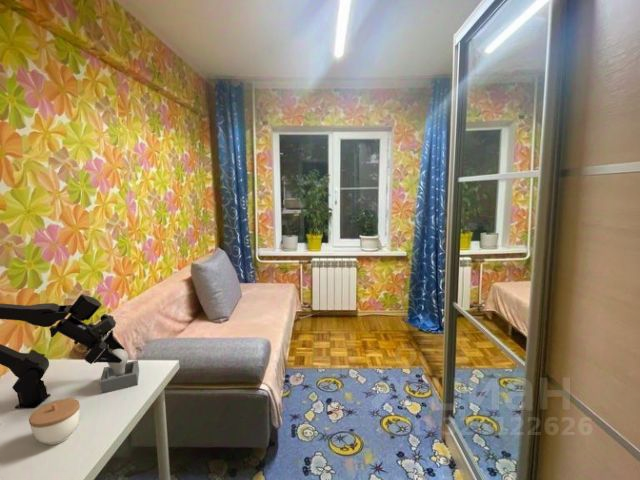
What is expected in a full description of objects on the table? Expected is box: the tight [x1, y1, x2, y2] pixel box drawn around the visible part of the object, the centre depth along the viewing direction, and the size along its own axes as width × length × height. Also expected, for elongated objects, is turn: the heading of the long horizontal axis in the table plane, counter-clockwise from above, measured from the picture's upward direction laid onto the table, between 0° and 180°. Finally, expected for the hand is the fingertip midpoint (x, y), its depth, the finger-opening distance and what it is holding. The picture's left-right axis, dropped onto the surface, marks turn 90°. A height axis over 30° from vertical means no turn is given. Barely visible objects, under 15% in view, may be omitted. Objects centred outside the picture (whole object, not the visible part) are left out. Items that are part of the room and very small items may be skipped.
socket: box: [99, 359, 140, 395], centre depth 121 cm, size 10×10×4 cm
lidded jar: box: [28, 397, 81, 446], centre depth 95 cm, size 11×11×9 cm
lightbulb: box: [106, 349, 129, 377], centre depth 120 cm, size 6×6×11 cm
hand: (122, 355), depth 121 cm, fingers open, 9 cm apart
